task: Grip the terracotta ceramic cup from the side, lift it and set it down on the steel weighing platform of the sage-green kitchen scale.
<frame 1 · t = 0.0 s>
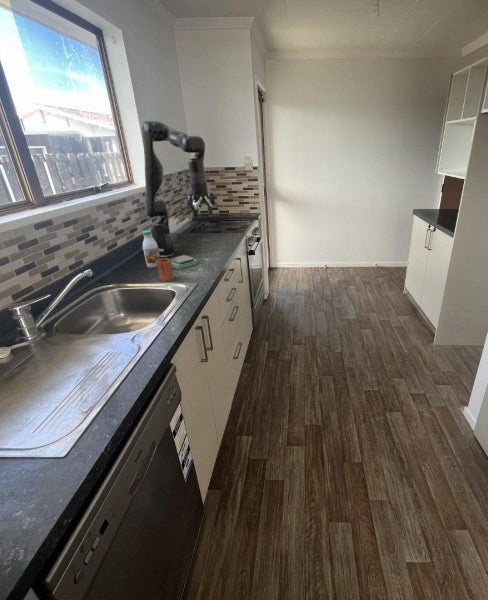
hand: (203, 215, 166), 29 cm above the worktop, tool pointing down, fingers open, 8 cm apart
milk bottle: (154, 266, 186), on the worktop
scale: (182, 264, 187), on the worktop
cup: (167, 279, 167), on the worktop
scale platform: (181, 259, 186), point 3 cm above the worktop, slide at 0.0 cm
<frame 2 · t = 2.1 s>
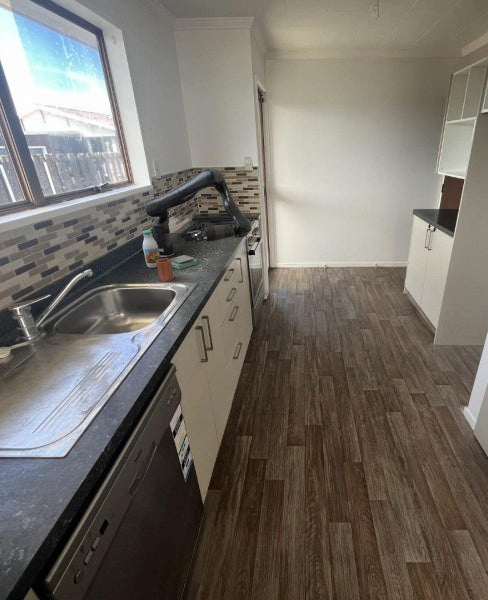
hand: (182, 237, 163), 20 cm above the worktop, tool horizontal, fingers open, 8 cm apart
nothing on the worktop moved.
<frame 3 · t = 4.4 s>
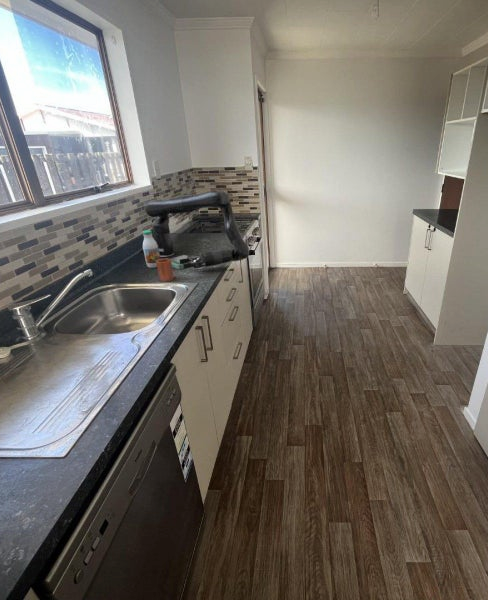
hand: (181, 263, 168), 7 cm above the worktop, tool horizontal, fingers open, 8 cm apart
nothing on the worktop moved.
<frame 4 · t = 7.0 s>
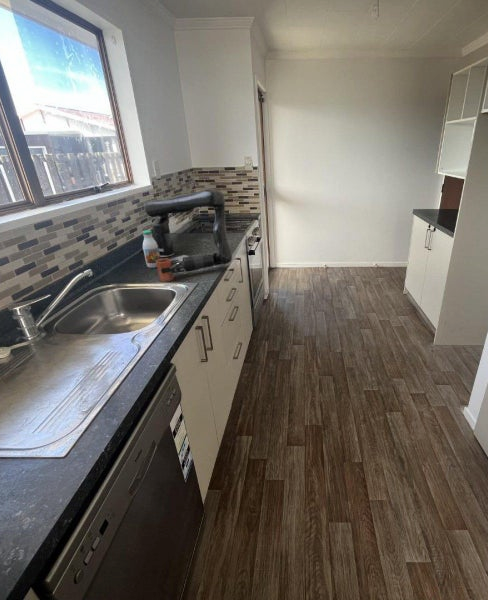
hand: (160, 269, 163), 6 cm above the worktop, tool horizontal, fingers closed on cup, 6 cm apart
cup: (167, 279, 167), on the worktop, touching gripper
everything else where it was.
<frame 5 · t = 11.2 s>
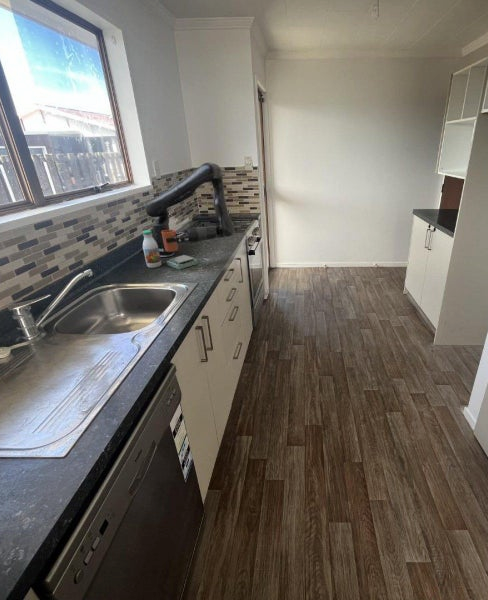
hand: (165, 239, 170), 18 cm above the worktop, tool horizontal, fingers closed on cup, 6 cm apart
cup: (171, 249, 173), point 12 cm above the worktop, touching gripper
everything else where it was.
when the fingers open (9 cm above the worktop, at t = 15.5 s): cup stays where it is, resting on scale platform.
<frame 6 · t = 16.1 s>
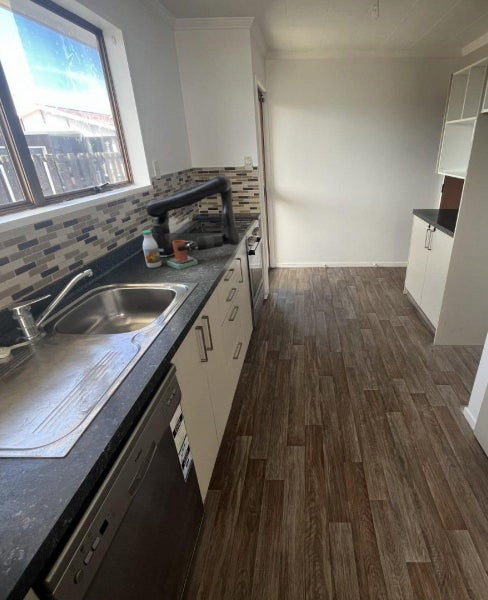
hand: (176, 247, 182), 10 cm above the worktop, tool horizontal, fingers open, 8 cm apart
cup: (181, 258, 186), point 3 cm above the worktop, touching scale platform
scale platform: (181, 259, 186), point 3 cm above the worktop, slide at -0.1 cm, touching cup
everything else where it was.
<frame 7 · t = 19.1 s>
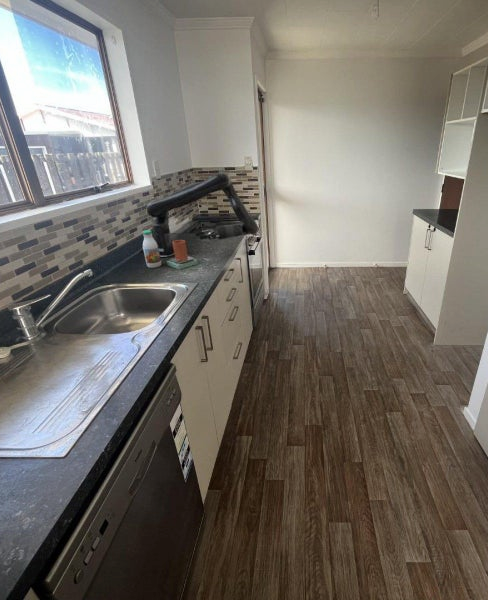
hand: (197, 235, 186), 15 cm above the worktop, tool horizontal, fingers open, 8 cm apart
nothing on the worktop moved.
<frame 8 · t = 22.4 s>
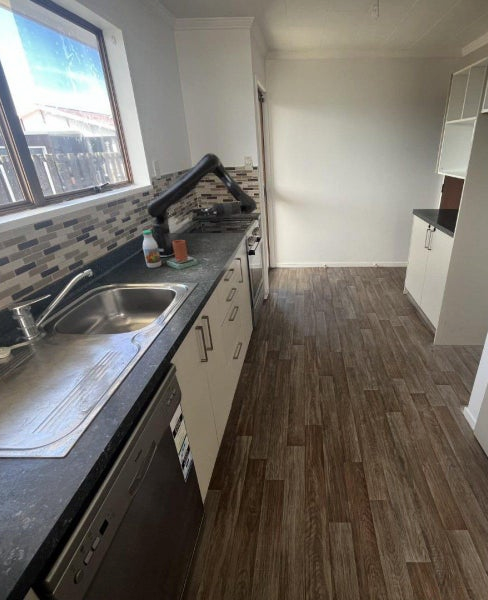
hand: (194, 212, 181), 28 cm above the worktop, tool horizontal, fingers open, 8 cm apart
nothing on the worktop moved.
at the end: cup inside the target area on the scale (0.0 cm from its centre), point 3.4 cm above the scale's base; cup tilted 0° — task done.
